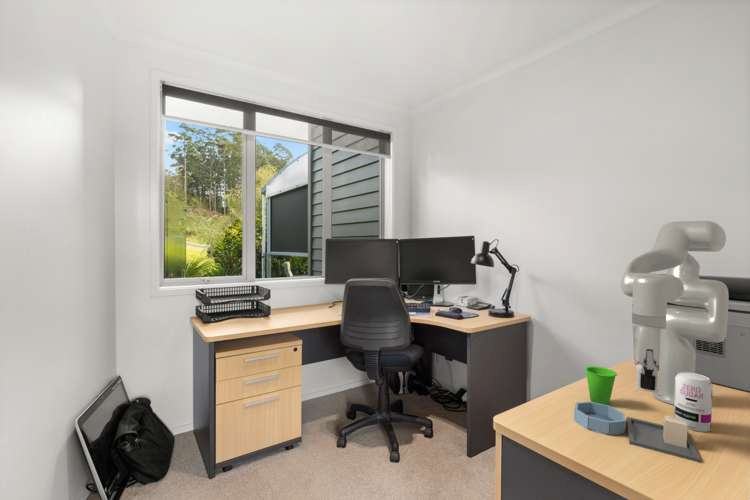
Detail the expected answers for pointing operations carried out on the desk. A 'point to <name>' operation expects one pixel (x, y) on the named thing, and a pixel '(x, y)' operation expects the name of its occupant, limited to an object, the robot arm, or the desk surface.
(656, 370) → the white block
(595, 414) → the bowl
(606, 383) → the cup
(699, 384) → the supplement can
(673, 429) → the beige rectangular block
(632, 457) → the desk surface
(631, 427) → the tray
